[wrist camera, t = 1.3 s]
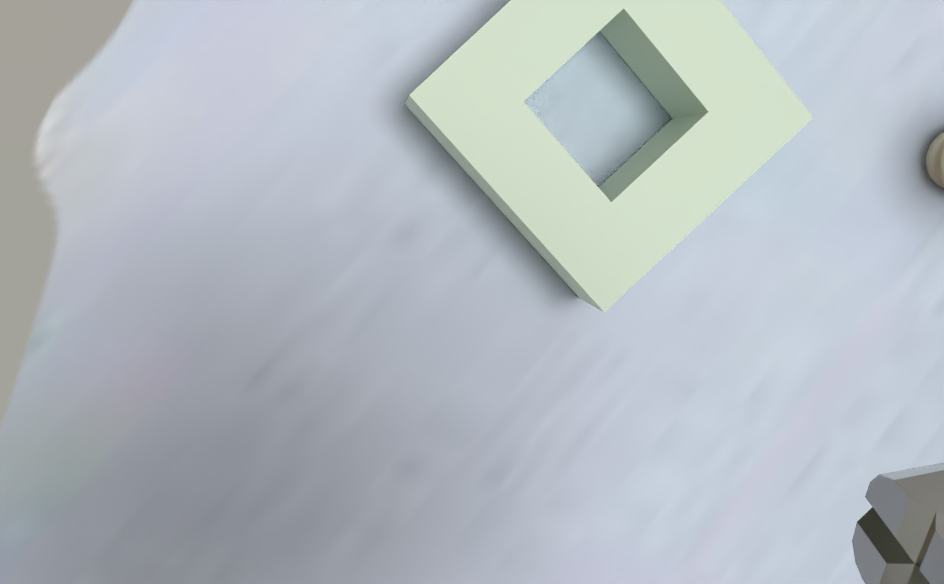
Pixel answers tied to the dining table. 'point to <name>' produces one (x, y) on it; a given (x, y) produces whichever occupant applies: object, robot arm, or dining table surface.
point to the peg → (936, 160)
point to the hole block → (647, 171)
